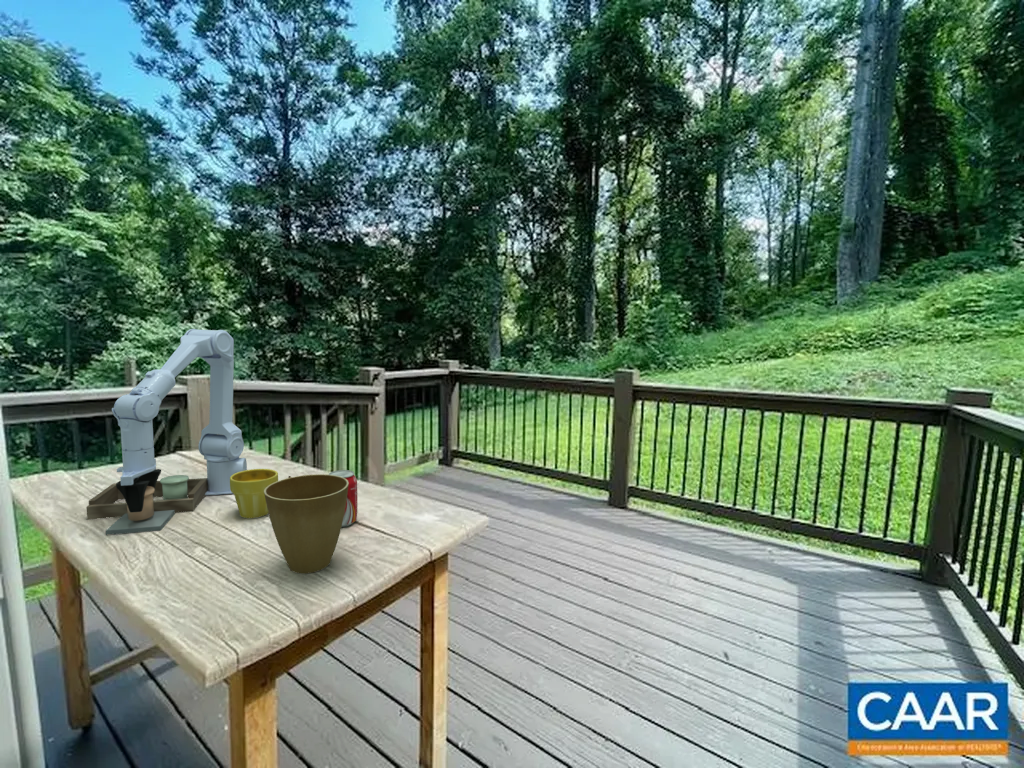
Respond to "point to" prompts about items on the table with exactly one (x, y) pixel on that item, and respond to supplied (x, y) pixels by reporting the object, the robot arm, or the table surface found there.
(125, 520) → the slate slab
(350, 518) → the soda can
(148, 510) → the terracotta pot
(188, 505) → the frame
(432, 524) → the table surface
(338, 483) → the plant pot
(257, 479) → the plant pot
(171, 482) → the green pot
